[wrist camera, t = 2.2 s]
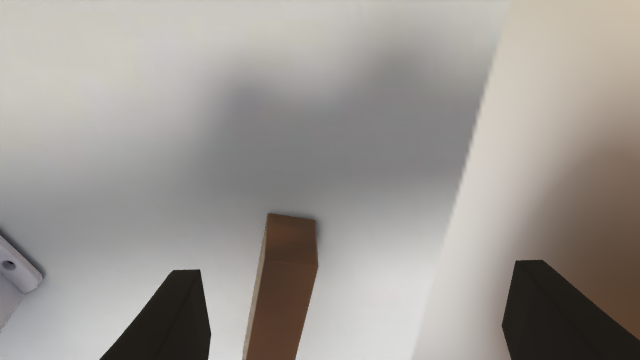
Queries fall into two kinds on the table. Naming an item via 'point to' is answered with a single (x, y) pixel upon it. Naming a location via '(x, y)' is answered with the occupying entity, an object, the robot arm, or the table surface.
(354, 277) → the table surface
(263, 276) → the wooden block
